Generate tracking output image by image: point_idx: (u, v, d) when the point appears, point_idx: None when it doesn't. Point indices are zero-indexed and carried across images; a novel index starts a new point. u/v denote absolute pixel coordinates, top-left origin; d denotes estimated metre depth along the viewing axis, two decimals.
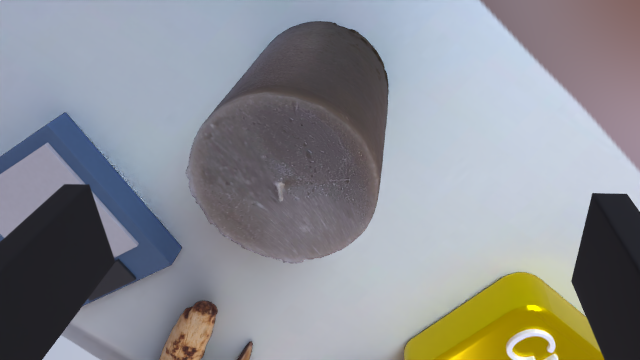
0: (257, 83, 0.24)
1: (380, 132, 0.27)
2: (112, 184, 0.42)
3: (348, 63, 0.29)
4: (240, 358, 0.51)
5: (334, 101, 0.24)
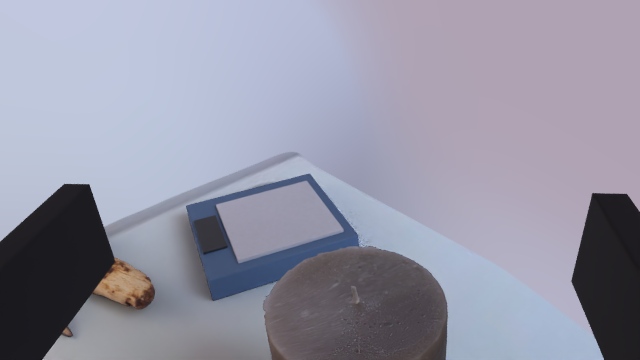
0: None
1: None
2: (296, 262, 0.49)
3: None
4: None
5: None
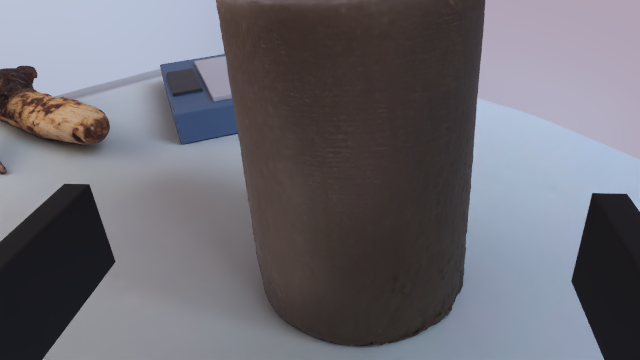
0: None
1: (372, 129, 0.16)
2: None
3: (453, 186, 0.19)
4: None
5: (466, 23, 0.16)
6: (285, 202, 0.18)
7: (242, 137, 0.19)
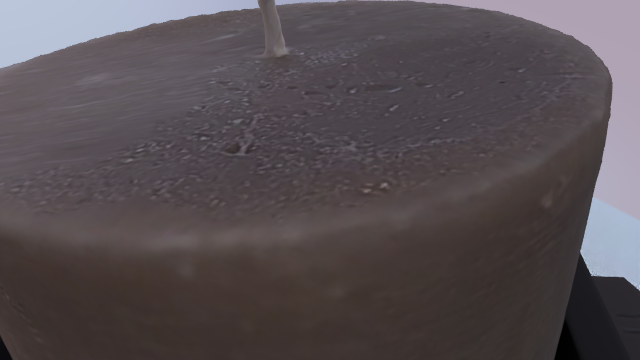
0: None
1: None
2: None
3: None
4: None
5: (571, 230, 0.06)
6: None
7: None
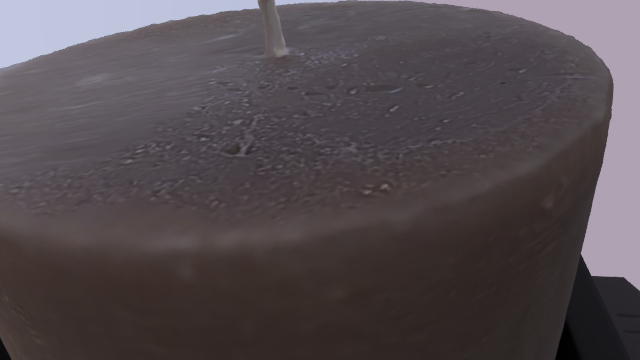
0: None
1: None
2: None
3: None
4: None
5: (572, 232, 0.06)
6: None
7: None
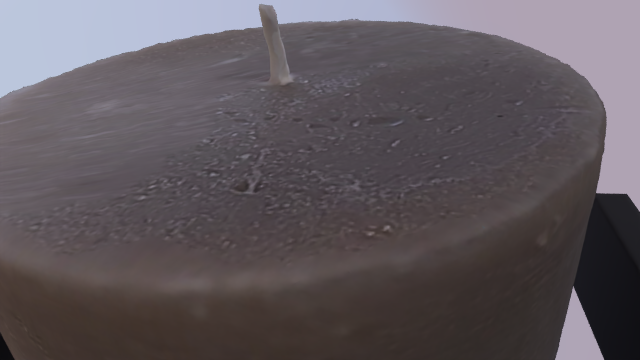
0: None
1: None
2: None
3: None
4: None
5: (565, 263, 0.06)
6: None
7: None
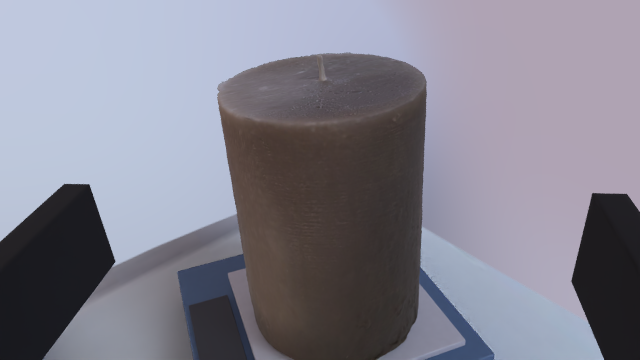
0: None
1: (336, 210, 0.21)
2: None
3: (403, 245, 0.24)
4: None
5: (406, 130, 0.21)
6: (271, 259, 0.24)
7: (238, 206, 0.24)
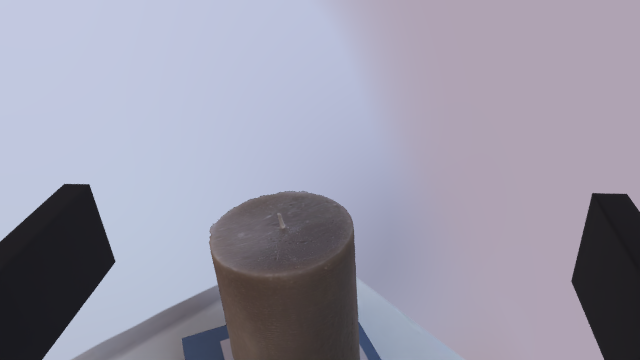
0: None
1: (289, 324, 0.31)
2: None
3: (340, 339, 0.34)
4: None
5: (336, 271, 0.31)
6: (247, 350, 0.34)
7: (224, 311, 0.35)
